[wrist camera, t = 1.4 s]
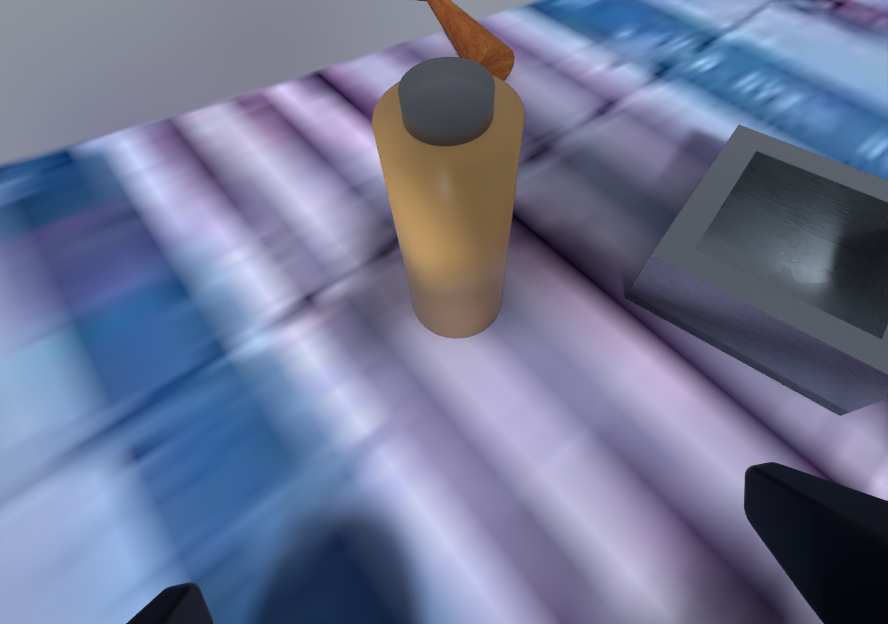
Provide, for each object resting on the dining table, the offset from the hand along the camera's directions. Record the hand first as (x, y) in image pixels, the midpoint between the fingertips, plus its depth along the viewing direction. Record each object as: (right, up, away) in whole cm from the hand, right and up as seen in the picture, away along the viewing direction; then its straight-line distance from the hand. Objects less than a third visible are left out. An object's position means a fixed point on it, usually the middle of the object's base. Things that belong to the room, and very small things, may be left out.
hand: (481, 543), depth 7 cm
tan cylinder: (0, +5, +18) cm, 19 cm away
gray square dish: (+17, +6, +18) cm, 25 cm away
